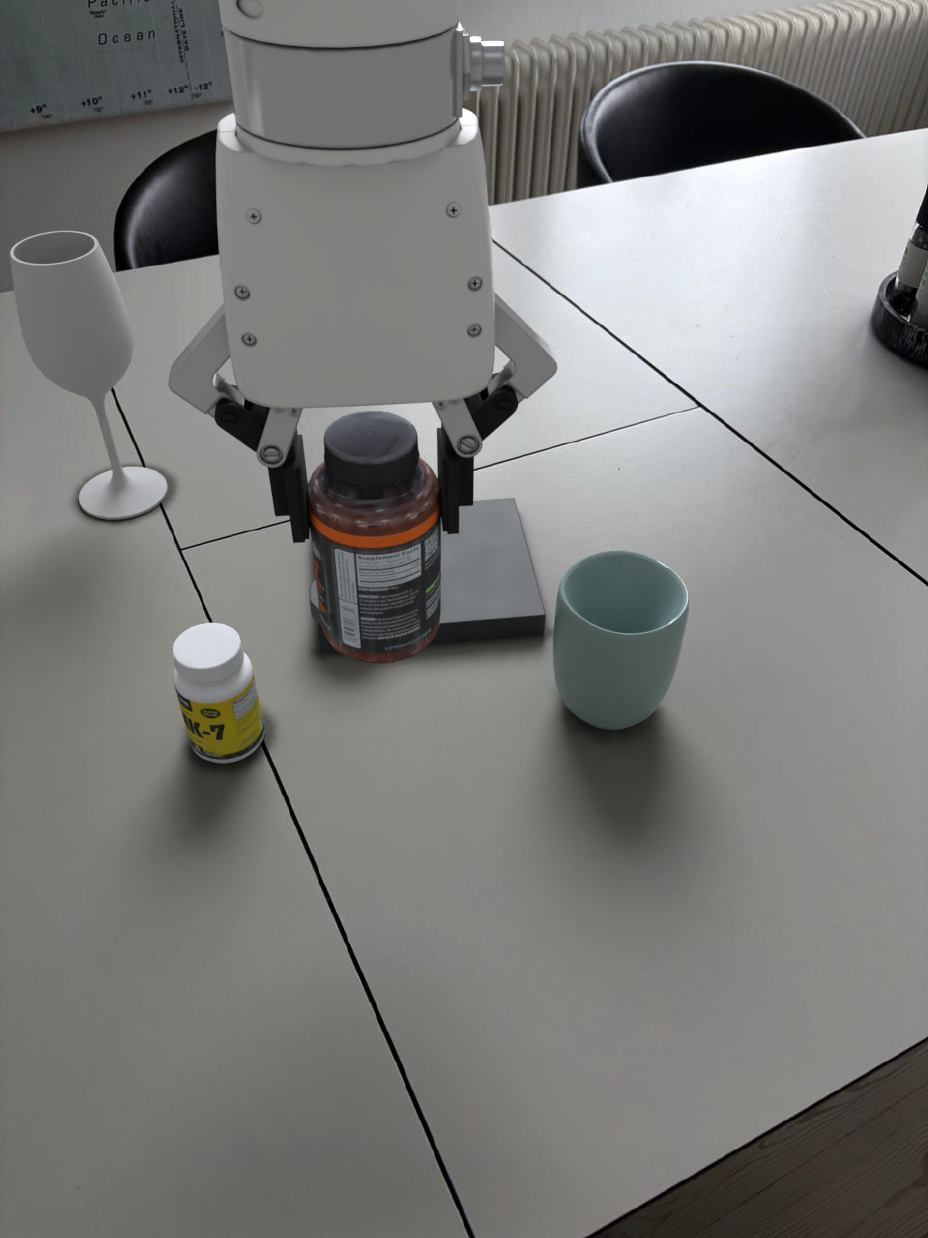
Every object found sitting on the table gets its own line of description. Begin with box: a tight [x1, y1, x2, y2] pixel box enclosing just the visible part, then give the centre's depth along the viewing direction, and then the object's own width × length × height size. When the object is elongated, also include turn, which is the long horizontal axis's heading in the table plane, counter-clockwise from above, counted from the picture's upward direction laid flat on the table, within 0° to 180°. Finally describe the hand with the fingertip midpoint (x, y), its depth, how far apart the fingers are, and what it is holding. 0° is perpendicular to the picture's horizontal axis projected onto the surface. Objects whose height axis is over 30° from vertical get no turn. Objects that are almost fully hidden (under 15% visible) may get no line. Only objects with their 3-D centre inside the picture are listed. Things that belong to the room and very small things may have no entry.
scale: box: [309, 497, 547, 654], centre depth 75 cm, size 16×14×4 cm
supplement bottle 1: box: [171, 622, 265, 764], centre depth 62 cm, size 5×5×8 cm
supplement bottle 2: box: [307, 410, 441, 665], centre depth 46 cm, size 6×6×11 cm
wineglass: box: [9, 230, 169, 521], centre depth 77 cm, size 8×8×21 cm
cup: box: [552, 550, 691, 731], centre depth 64 cm, size 8×8×10 cm
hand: (375, 516), depth 45 cm, fingers closed on supplement bottle 2, 6 cm apart
